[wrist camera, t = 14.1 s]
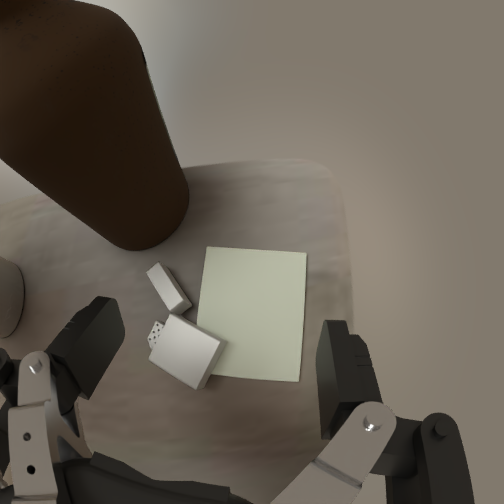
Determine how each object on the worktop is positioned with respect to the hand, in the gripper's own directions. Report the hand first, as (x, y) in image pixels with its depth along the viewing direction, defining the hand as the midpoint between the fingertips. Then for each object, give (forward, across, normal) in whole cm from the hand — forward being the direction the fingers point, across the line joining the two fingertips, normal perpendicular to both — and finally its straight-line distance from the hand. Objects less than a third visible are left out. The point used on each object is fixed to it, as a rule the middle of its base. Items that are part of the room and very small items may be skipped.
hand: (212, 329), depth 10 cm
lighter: (+6, +1, +7) cm, 10 cm away
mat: (+10, -1, +6) cm, 12 cm away
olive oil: (+16, +10, 0) cm, 19 cm away
